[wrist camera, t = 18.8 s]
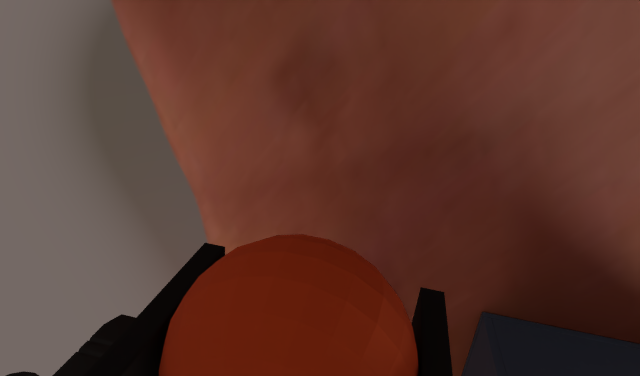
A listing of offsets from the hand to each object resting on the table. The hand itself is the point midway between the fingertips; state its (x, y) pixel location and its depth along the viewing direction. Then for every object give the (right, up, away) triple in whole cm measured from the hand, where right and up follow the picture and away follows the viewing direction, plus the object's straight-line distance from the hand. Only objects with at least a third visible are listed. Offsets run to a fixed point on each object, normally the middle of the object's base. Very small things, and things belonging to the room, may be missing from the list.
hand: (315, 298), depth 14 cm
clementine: (0, 0, +1) cm, 1 cm away
